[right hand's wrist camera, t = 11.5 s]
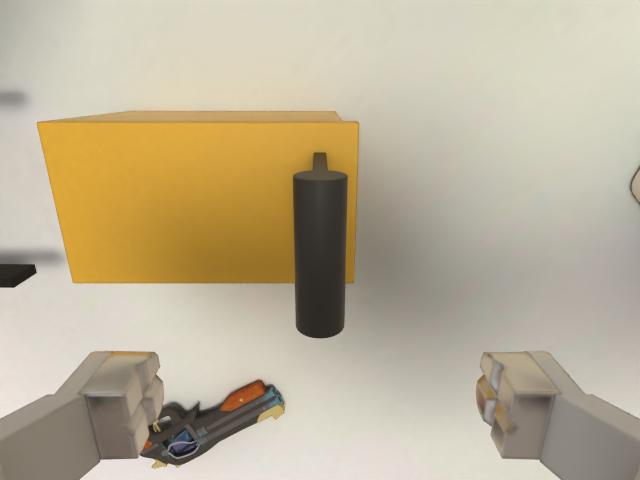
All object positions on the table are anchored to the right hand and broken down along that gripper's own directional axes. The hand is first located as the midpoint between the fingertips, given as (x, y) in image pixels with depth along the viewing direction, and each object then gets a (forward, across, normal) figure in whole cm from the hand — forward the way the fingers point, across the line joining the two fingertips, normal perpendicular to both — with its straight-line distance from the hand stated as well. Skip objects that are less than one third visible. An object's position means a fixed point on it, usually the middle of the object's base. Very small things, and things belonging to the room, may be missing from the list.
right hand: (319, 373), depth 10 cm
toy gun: (+27, +14, +25) cm, 40 cm away
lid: (+16, +7, 0) cm, 17 cm away
